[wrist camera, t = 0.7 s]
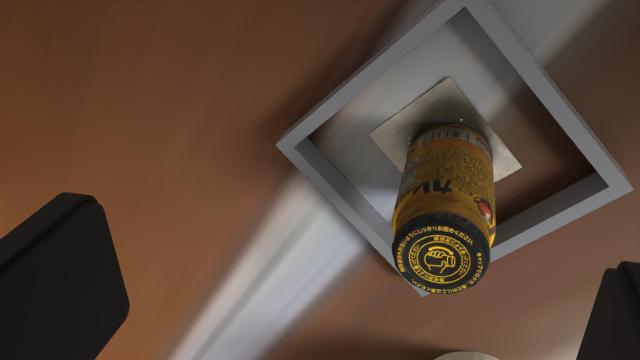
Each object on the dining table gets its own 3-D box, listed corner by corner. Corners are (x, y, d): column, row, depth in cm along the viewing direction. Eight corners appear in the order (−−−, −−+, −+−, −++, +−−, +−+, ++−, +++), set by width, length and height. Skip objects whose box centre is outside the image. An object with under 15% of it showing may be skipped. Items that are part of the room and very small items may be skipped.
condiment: (437, 213, 40) (426, 324, 30) (368, 133, 39) (331, 223, 28) (522, 165, 37) (540, 273, 27) (449, 74, 35) (440, 153, 25)
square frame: (624, 171, 35) (633, 189, 33) (424, 277, 44) (422, 297, 42) (468, -27, 31) (468, -20, 29) (285, 131, 40) (275, 145, 38)
